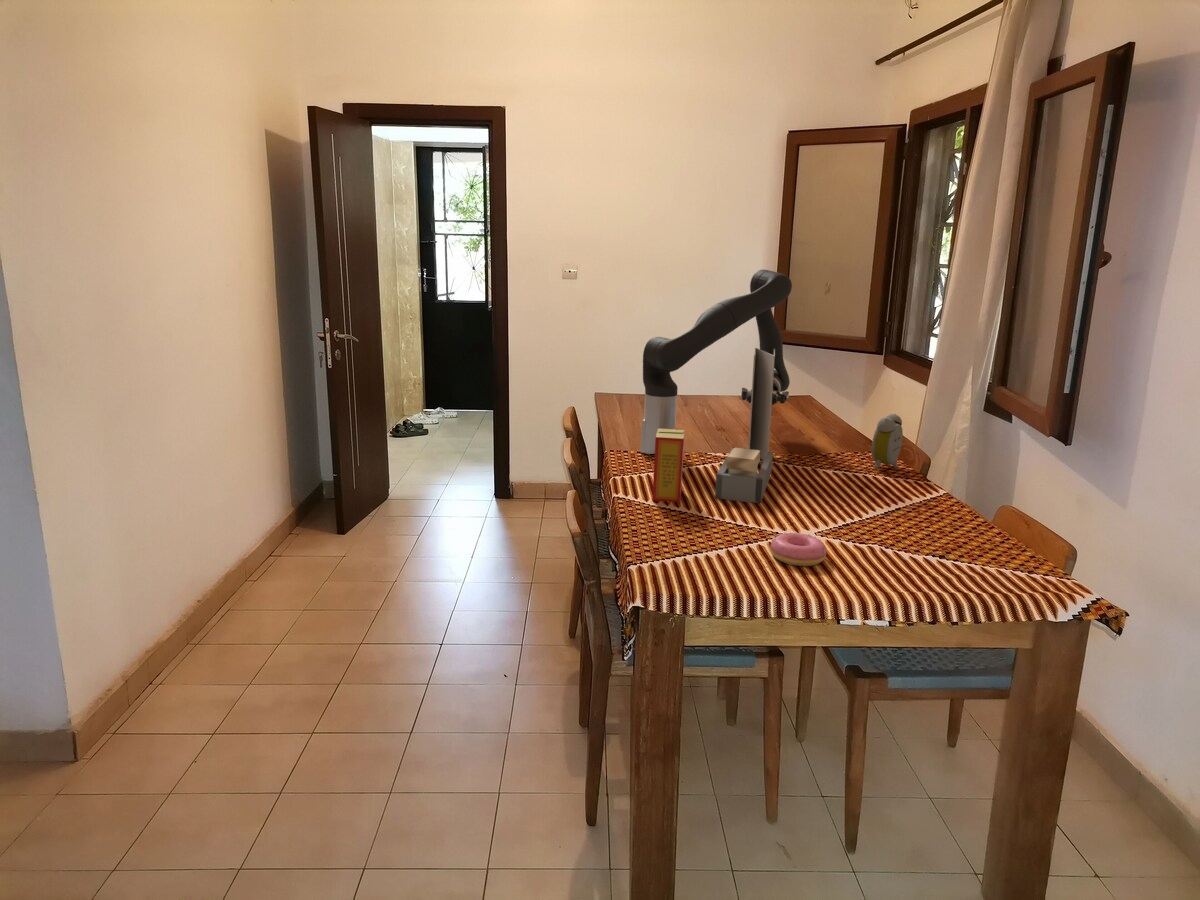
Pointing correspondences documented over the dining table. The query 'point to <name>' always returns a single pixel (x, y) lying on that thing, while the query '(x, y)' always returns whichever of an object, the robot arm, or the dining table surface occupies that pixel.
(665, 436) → the baking soda box
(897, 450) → the alarm clock
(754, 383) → the brochure
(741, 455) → the offcut stack
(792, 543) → the doughnut
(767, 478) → the rack
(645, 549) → the dining table surface
